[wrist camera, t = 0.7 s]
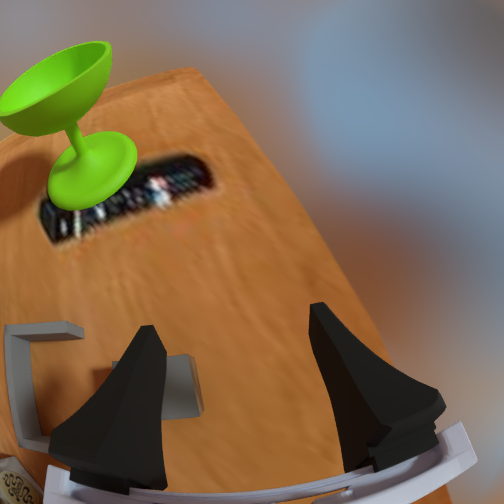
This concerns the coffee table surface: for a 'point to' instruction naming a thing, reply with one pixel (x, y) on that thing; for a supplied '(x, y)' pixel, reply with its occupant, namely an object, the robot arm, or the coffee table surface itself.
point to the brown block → (180, 389)
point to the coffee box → (18, 484)
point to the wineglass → (71, 123)
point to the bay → (29, 376)
